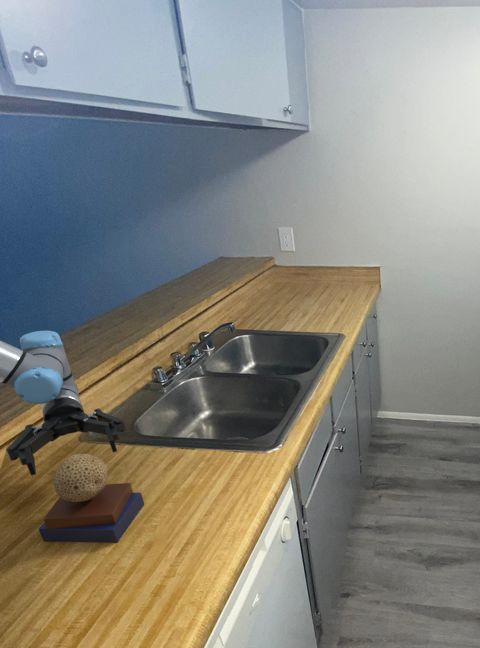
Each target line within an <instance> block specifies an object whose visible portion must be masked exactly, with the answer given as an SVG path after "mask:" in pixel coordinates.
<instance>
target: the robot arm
mask: <svg viewBox="0 0 480 648" xmlns="http://www.w3.org/2000/svg"><path fill="white" fill-rule="evenodd" d="M19 344H20V347H21V349H20V348H18V347H16V346H13V345H12V344H9V343H7V342H6V341H3V340H1V339H0V383H1V384H4V385H5V386H9V387H10V388H13V389H14V391H15V394H16V396H18V398H19V399H21V400H22V401H24V402H26V403H29V404H33V405H35V404H36V405H41V411H42V417H43V423H42V424H41V425H37V426H34V425H33V424H31V423H29V424H27V425H25V428H24V430H23V431H22V432H21V433H20V434H19V436H17V438H15V440H13V442H12V443H10V445H8V447H7V448H6V449H5V451H6V453H7V455H8V458H9V459H10V461H16V460H18V459H19V463H20V464H21V465H22V466H26V467H27V469H28V471H29V474H30V476H35V475H37V471H36V470H37V469H36V461H35V456H34V454H35V453H37V452H39V450H40V449H42V448H43V447H44V446H46V445H47V444H49V443H50V442H55V441H56V440H57V439H59V438H60V437H63V436H66V435H70V434H76V433H84V434H87V433H89V432H90V433H93V434H95V433H96V434H101V435H106V437H107V439H108V443H109V445H110V449H111V451H112V453H116V452H118V449H117V446H116V443H115V441H119V440H120V436H119V432H120V433H125V432H126V425H125V421H124V419H122V418H119V417H117V416H114V415H111V414H109V413H106V412H104V411H102V410H101V408H95V409H94V410H93V412H92V413H89V414H88V413H86V412H85V410H84V407H83V403H82V400H81V398H80V395H79V389H78V385H77V383H76V381H75V378H74V375H73V372H72V370H71V367H70V363H69V361H68V357H67V354H66V351H65V346H64V343H63V341H62V338H61V337H60V335H59V333H57V332H56V331H53V330H37V331H32V332H29V333H25V334H24V335H22V336H21V337H20V338H19Z"/></svg>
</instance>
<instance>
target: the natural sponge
mask: <svg viewBox="0 0 480 648" xmlns="http://www.w3.org/2000/svg"><path fill="white" fill-rule="evenodd" d="M108 477H109V474H108V468H107V465H106V464H105V462H104V461H103V460H102V458H100V457H98V456H96V455H92V454H90V453H75V454H72V455H70V456H69V457H67V458H65V459H64V460H63V461H62V462H61V463H60V464H59V466H58V467H57V469H56V471H55V473H54V474H53V480H52V481H53V482H52V484H53V488H54V491H55V493H56V494H57V496H58V497H61V498H62V499H64V500H66V501H69V502H81V501H88V500H91V499H93V498H94V497H96V496H97V495H98V494H99V493H100V492H101V491H102V490H103V488H104V487H105V485H106V484H108V483H107V482H108Z"/></svg>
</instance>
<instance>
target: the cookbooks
mask: <svg viewBox="0 0 480 648" xmlns="http://www.w3.org/2000/svg"><path fill="white" fill-rule="evenodd" d="M132 487H133V486H132V485H131V482H122V483H106V485H105V487H104V488H103V490H102V491H101V492H100V493H99V494H98V495H97V496H96V497H94V498H93V499H91V500H88V501H81V502H69V501H66V500H64V499H62V498H61V497H60V496H58V499H56V501H55V503H54V504H53V505H52V506H51V508H50V509H49V511H48V512H47V513H46V515H45V516H44V517H43V523H42V524H41V525H40V526H39V527H38V531H39V534H40V536H41V539H42V541H43V542H62V543H63V542H67V543H68V542H69V543H73V542H74V543H78V542H79V543H118V542H119V541H120V539H122V538H123V535H125V533H126V532H127V530H128V528H130V525H131V524H132V523H133V521H134V520H135V519H136V517H137V516H138V514H139V513H140V512H141V510H142V509H143V507H144V505H145V501H144V498H143V494H142V492H134V491H133V488H132Z"/></svg>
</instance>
